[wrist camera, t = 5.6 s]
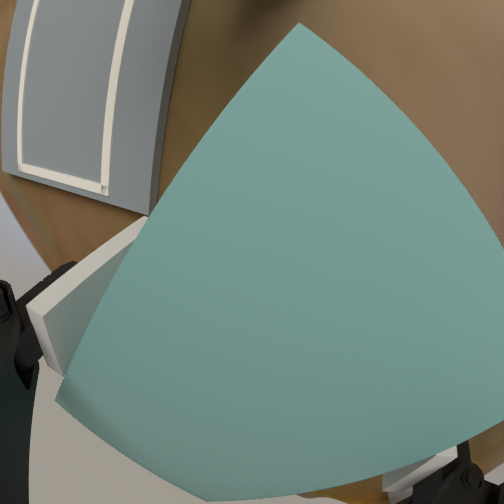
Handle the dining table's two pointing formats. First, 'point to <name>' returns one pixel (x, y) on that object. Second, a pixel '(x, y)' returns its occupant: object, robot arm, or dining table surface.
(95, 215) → the dining table surface
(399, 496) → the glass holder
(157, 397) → the teal brick
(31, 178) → the baseplate
